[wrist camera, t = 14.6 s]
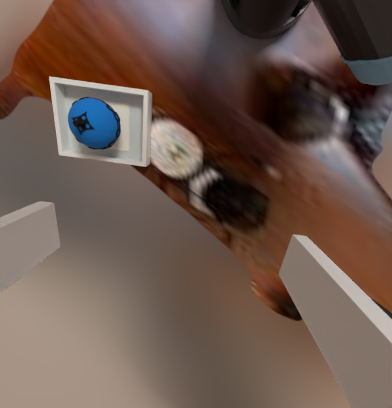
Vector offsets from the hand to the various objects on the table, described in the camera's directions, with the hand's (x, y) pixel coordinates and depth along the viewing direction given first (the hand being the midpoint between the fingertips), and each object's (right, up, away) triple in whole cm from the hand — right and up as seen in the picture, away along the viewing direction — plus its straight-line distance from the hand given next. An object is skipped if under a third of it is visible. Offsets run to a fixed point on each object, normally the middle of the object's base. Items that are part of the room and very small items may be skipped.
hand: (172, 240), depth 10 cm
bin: (-17, +18, +28) cm, 37 cm away
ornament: (-17, +18, +27) cm, 37 cm away
